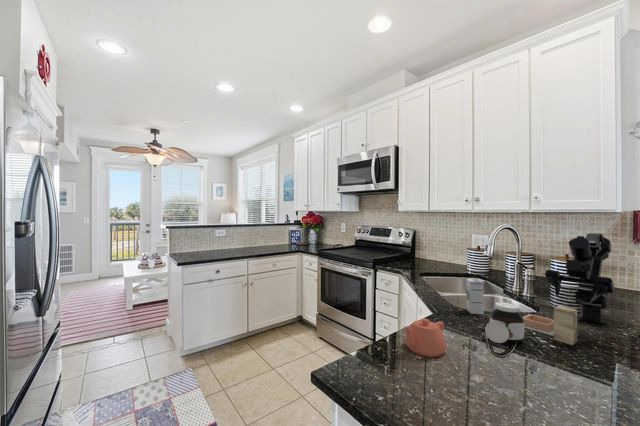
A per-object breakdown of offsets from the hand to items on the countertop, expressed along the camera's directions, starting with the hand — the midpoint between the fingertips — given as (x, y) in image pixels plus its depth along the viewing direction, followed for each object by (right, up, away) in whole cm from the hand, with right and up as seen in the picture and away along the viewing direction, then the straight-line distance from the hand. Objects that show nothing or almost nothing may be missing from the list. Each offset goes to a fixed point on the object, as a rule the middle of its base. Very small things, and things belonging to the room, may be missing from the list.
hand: (572, 298), depth 102 cm
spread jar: (-28, -13, -4) cm, 31 cm away
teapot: (-59, -13, -13) cm, 62 cm away
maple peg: (-7, -13, -4) cm, 15 cm away
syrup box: (-23, -14, +24) cm, 36 cm away
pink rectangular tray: (-6, -13, +8) cm, 17 cm away
